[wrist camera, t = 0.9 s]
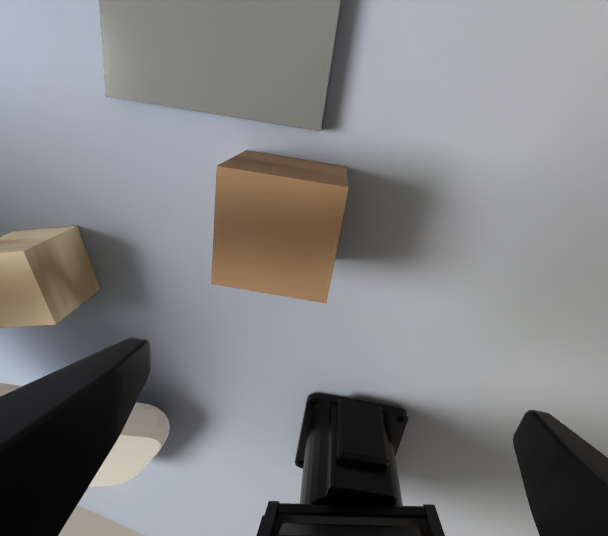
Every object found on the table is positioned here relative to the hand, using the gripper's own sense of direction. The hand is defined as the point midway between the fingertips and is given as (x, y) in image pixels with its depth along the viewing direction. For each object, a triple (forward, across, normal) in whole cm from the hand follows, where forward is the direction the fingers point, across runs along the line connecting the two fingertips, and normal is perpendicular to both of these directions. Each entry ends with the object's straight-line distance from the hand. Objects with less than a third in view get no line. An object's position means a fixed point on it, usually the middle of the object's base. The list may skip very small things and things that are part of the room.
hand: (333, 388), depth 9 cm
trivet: (+12, +7, -9) cm, 16 cm away
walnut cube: (+12, +3, -1) cm, 12 cm away
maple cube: (+12, +16, +5) cm, 20 cm away
